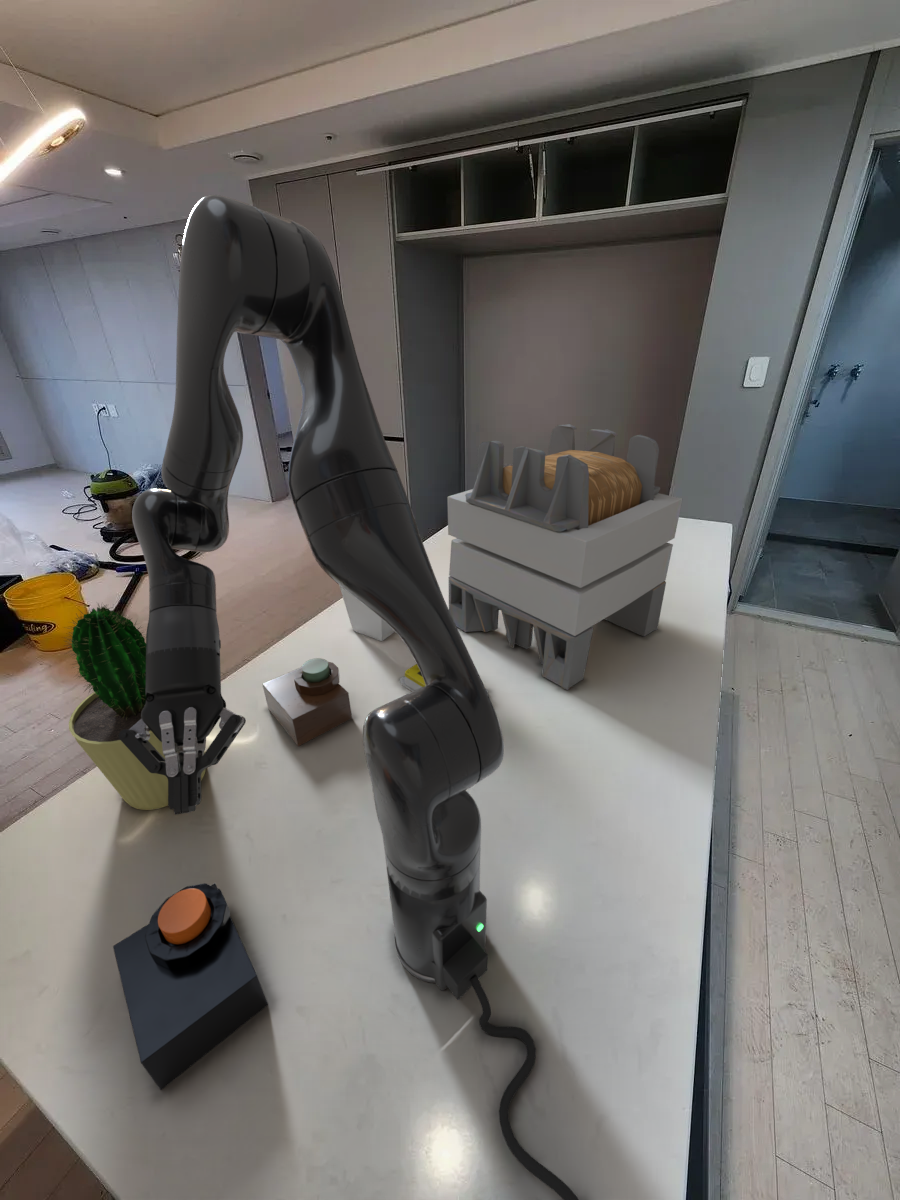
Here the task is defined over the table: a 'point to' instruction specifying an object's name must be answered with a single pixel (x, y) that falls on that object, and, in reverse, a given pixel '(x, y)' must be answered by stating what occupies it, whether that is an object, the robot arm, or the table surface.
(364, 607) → the soap bottle
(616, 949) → the table surface
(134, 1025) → the black push button box
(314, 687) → the block back
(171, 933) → the knob front
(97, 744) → the potted cactus
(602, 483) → the transformer
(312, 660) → the knob back
